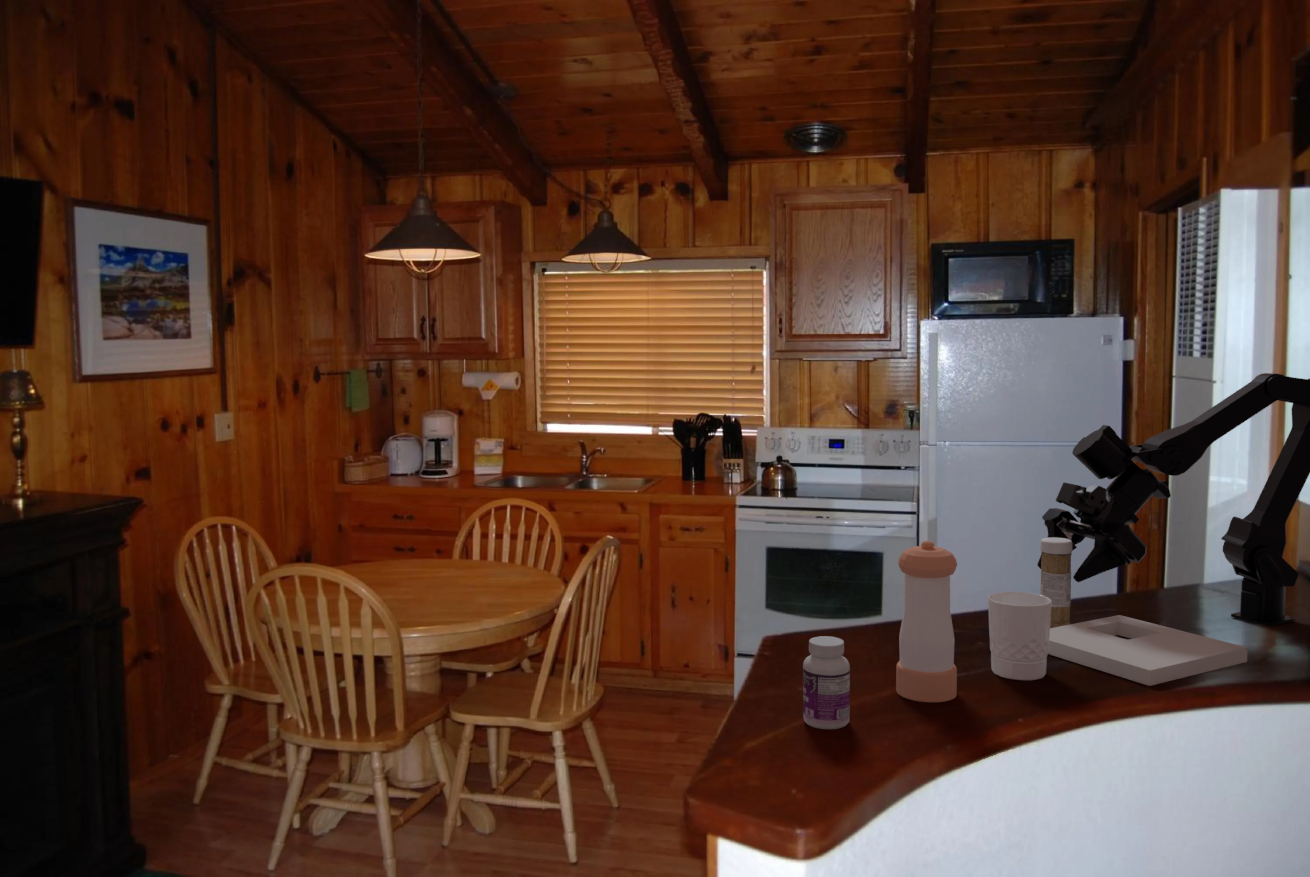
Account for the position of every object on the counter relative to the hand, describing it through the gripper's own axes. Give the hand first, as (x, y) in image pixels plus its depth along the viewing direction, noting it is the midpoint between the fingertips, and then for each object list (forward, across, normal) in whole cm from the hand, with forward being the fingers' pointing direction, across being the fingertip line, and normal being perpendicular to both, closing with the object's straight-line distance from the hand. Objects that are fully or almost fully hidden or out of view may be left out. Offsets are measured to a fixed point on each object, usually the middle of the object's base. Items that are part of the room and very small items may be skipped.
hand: (1057, 573), depth 157 cm
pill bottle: (+42, +30, -29) cm, 59 cm away
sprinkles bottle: (+6, 0, +6) cm, 8 cm away
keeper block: (+5, +16, +6) cm, 18 cm away
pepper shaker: (+30, +24, -18) cm, 42 cm away
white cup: (+19, +20, -7) cm, 28 cm away
